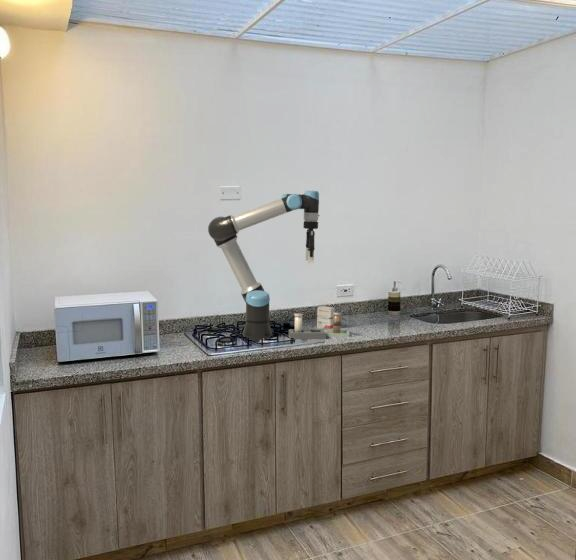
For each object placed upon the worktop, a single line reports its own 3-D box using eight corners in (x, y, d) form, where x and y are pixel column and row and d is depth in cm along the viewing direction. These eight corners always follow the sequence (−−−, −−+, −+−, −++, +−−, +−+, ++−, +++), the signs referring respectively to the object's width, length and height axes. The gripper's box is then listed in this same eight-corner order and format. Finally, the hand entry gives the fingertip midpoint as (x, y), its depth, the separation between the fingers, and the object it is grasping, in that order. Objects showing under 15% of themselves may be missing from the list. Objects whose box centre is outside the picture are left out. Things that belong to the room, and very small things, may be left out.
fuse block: (290, 341, 299) (290, 333, 299) (288, 336, 308) (288, 329, 308) (325, 340, 301) (326, 333, 300) (323, 336, 310) (323, 329, 309)
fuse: (294, 338, 302) (294, 314, 300) (293, 336, 306) (294, 312, 304) (302, 337, 302) (303, 314, 300) (301, 336, 306) (302, 312, 304)
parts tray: (326, 338, 306) (326, 333, 305) (323, 334, 315) (324, 329, 314) (349, 338, 307) (349, 333, 306) (346, 334, 316) (346, 329, 315)
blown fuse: (333, 336, 308) (333, 313, 307) (332, 334, 313) (332, 311, 311) (341, 336, 309) (342, 313, 307) (340, 334, 313) (340, 311, 311)
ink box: (334, 328, 329) (335, 307, 327) (330, 330, 325) (330, 308, 323) (320, 326, 334) (321, 305, 332) (316, 328, 329) (316, 306, 328)
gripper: (320, 222, 299) (319, 264, 302) (315, 220, 324) (314, 259, 327) (305, 221, 298) (304, 264, 301) (301, 219, 323) (300, 259, 326)
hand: (309, 261), depth 314 cm, fingers open, 13 cm apart
